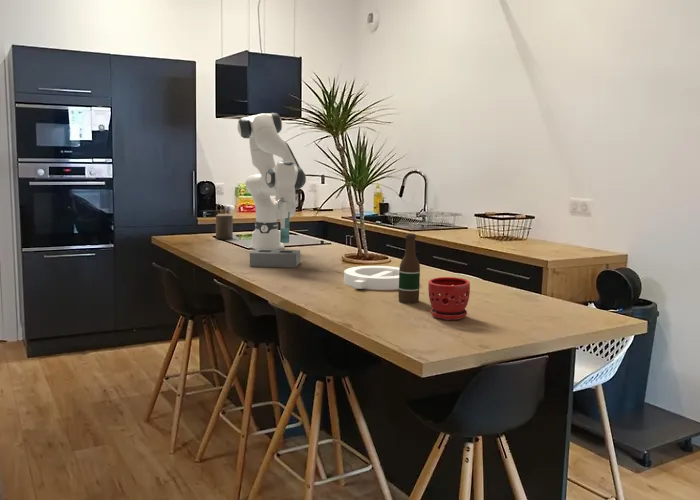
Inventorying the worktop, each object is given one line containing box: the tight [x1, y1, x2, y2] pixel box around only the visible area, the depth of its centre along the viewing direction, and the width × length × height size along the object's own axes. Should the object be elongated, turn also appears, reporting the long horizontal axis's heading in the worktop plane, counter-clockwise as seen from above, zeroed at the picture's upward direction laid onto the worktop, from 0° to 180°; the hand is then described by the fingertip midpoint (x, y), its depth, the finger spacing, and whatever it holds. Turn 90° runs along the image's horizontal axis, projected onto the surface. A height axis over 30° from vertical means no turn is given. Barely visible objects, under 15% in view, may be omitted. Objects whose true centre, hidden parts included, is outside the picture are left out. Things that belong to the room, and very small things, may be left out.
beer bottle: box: [398, 232, 421, 304], centre depth 235 cm, size 8×8×24 cm
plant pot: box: [427, 276, 471, 321], centre depth 215 cm, size 13×13×12 cm
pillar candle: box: [215, 213, 234, 240], centre depth 389 cm, size 10×10×15 cm
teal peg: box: [279, 212, 291, 244], centre depth 303 cm, size 4×4×14 cm
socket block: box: [249, 248, 301, 268], centre depth 306 cm, size 13×21×6 cm, turn 87°
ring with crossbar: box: [343, 265, 400, 291], centre depth 269 cm, size 28×28×5 cm
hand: (284, 227), depth 303 cm, fingers closed on teal peg, 4 cm apart
